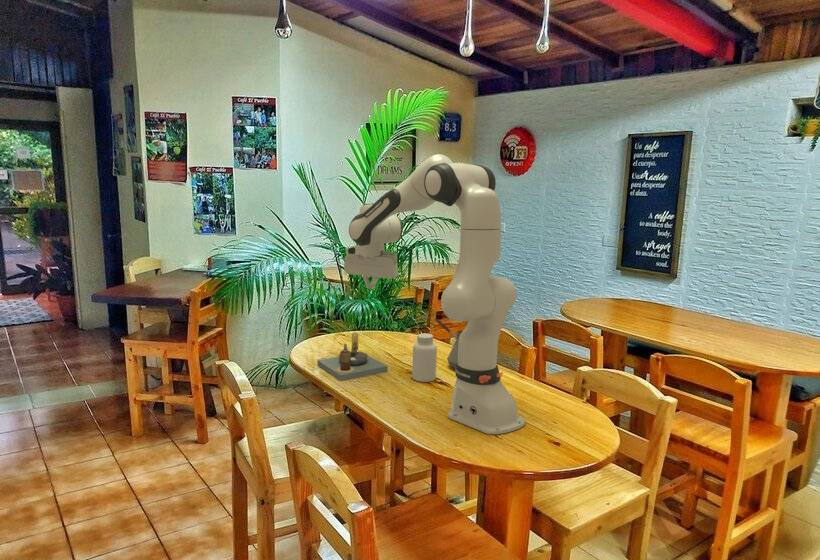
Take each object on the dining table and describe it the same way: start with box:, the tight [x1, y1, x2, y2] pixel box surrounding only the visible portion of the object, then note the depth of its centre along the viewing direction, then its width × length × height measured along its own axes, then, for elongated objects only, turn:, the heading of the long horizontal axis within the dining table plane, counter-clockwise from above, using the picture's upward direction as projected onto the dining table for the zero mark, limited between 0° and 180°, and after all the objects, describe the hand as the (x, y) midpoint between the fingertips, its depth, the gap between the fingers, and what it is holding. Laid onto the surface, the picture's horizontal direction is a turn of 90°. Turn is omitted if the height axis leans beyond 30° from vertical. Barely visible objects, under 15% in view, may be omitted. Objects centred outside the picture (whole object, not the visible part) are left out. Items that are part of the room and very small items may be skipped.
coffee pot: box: [432, 318, 464, 370], centre depth 204 cm, size 21×12×15 cm, turn 40°
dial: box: [338, 332, 369, 366], centre depth 200 cm, size 10×13×8 cm
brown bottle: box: [339, 343, 351, 371], centre depth 190 cm, size 3×3×9 cm
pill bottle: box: [411, 332, 438, 383], centre depth 189 cm, size 8×8×15 cm
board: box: [317, 355, 389, 382], centre depth 198 cm, size 18×18×2 cm
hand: (370, 288), depth 201 cm, fingers closed
